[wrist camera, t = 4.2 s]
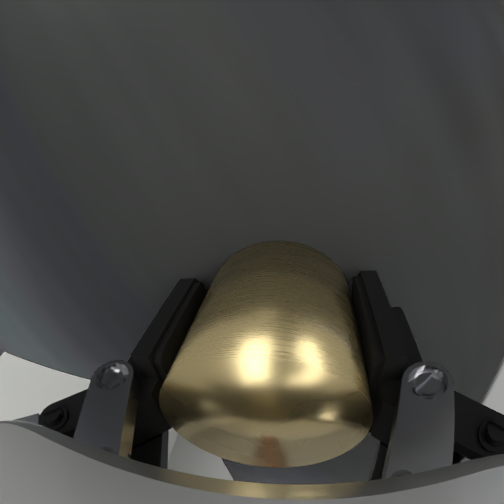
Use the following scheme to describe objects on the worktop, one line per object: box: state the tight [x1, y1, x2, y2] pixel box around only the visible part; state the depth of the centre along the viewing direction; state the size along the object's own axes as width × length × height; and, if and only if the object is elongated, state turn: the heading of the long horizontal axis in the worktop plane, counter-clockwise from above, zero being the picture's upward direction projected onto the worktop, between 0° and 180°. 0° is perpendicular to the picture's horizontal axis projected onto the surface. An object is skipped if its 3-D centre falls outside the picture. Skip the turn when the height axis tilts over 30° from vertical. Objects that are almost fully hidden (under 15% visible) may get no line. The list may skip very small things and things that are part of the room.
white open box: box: [0, 352, 234, 481], centre depth 14 cm, size 18×18×12 cm
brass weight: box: [159, 241, 373, 467], centre depth 8 cm, size 5×5×5 cm
